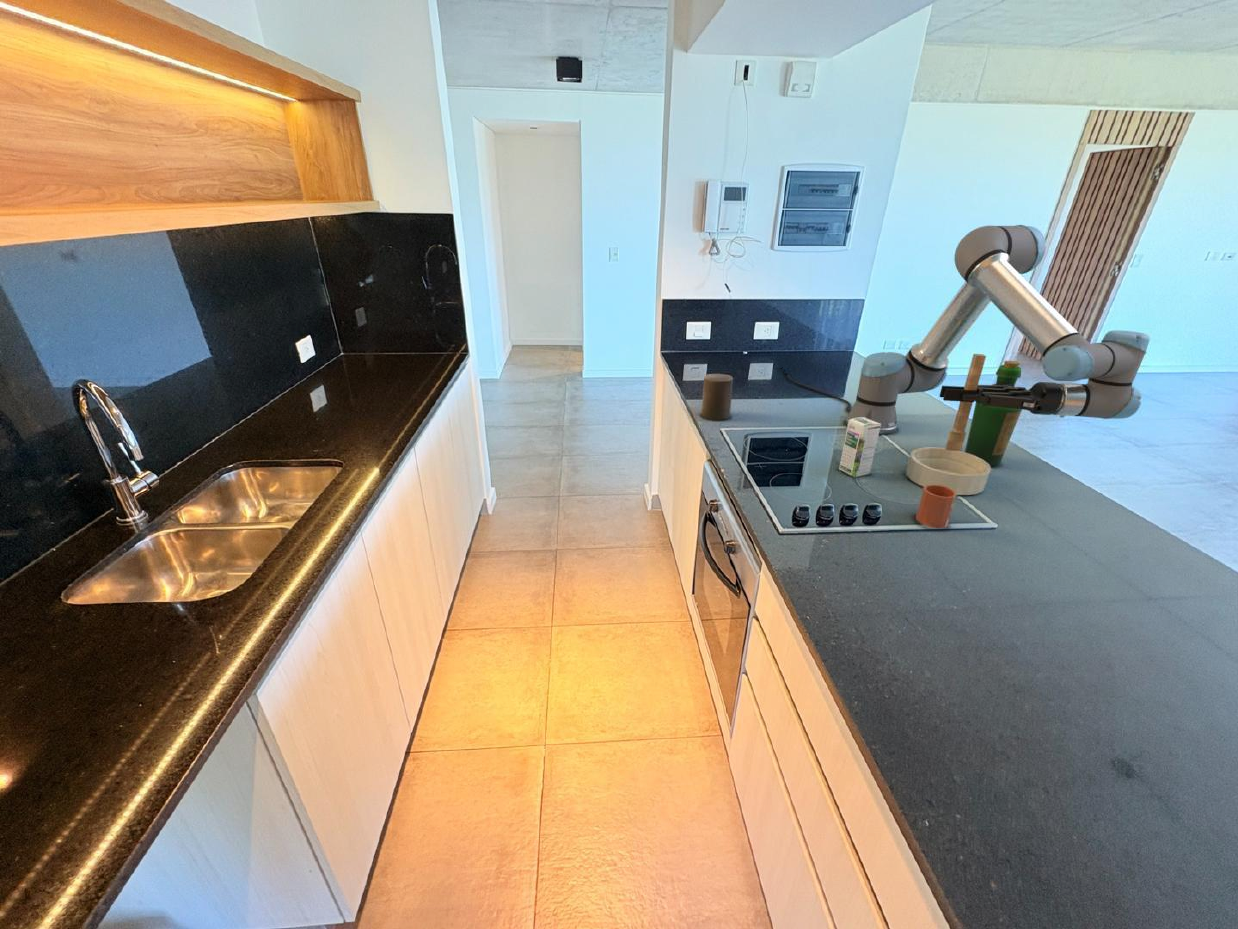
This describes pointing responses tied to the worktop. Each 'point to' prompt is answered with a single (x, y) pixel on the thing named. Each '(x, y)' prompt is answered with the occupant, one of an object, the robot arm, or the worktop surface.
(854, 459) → the syrup box
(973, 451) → the bottle
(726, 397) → the pillar candle
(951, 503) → the utensil pot
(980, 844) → the worktop surface
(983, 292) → the robot arm
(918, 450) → the bowl
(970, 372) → the stirring stick
